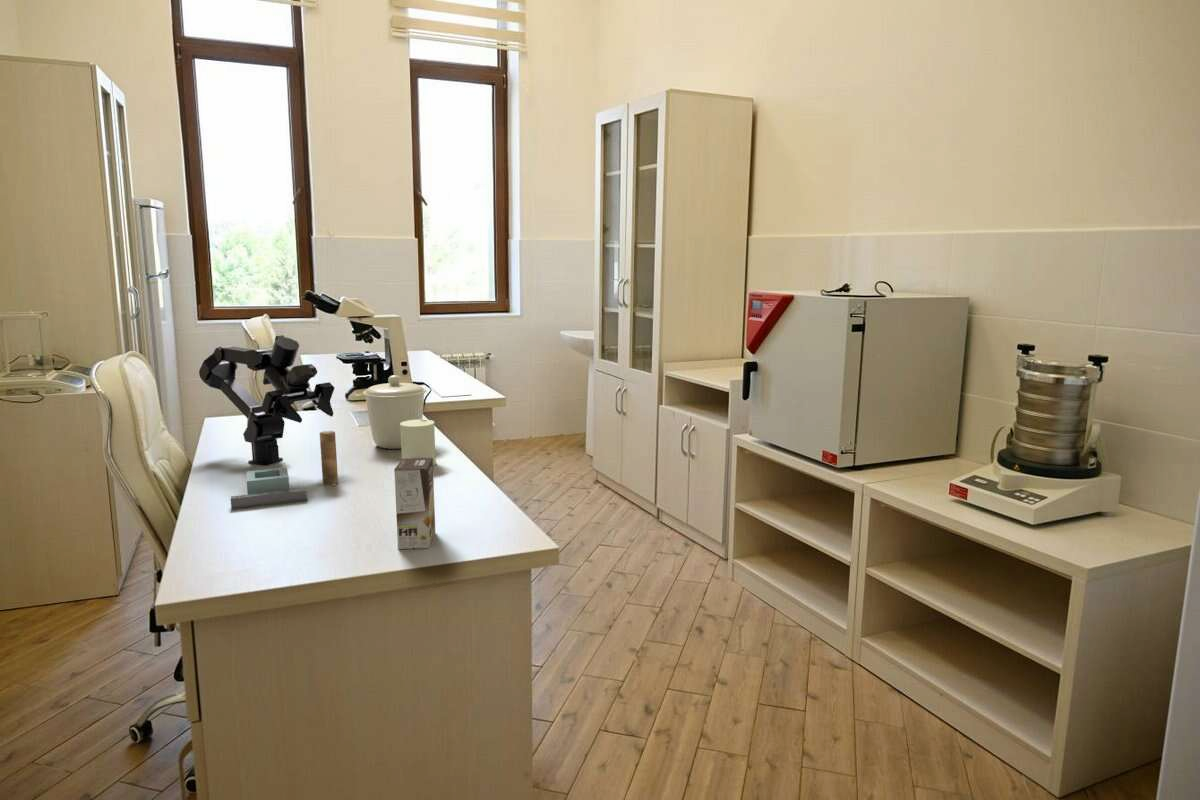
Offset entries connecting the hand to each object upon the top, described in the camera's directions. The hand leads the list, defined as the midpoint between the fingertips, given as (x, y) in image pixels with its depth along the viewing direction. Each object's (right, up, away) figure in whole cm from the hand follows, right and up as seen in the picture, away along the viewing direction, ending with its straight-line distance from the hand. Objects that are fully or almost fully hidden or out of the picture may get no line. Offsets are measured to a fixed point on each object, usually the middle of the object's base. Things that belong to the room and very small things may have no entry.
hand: (317, 418), depth 202 cm
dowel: (+5, -16, -4) cm, 17 cm away
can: (+23, -13, +15) cm, 30 cm away
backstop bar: (-4, -19, -19) cm, 28 cm away
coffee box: (+35, -24, -43) cm, 60 cm away
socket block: (-7, -18, -12) cm, 23 cm away
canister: (+11, -9, +36) cm, 38 cm away
